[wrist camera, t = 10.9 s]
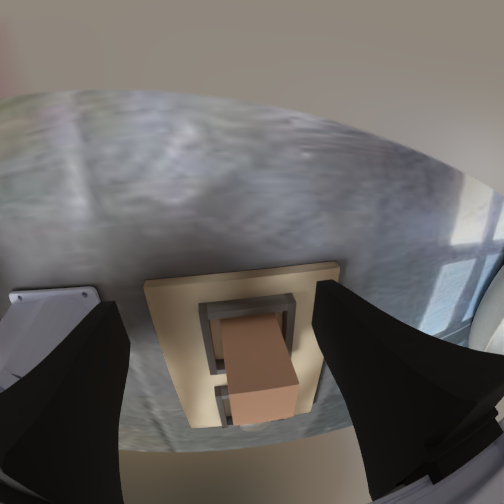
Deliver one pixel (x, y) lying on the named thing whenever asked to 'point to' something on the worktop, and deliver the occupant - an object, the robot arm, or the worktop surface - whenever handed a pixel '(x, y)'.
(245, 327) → the tan tall block
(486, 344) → the serving bowl
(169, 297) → the board
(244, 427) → the pin
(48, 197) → the worktop surface
